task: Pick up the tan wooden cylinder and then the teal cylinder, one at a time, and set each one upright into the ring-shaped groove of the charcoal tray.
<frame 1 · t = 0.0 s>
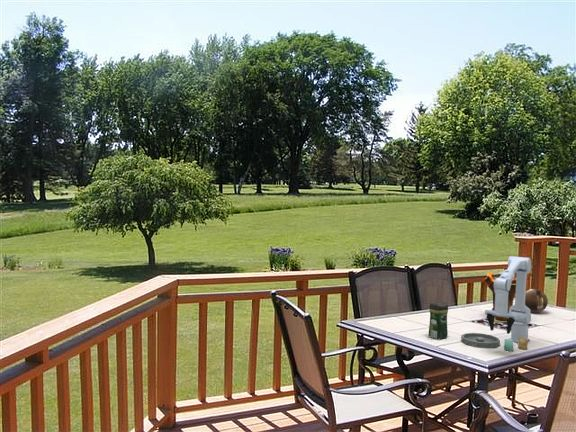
hand: (500, 331, 253), 10 cm above the table, tool pointing down, fingers open, 7 cm apart
wooden sphere: (534, 312, 340), on the table
coffee jar: (437, 337, 278), on the table
ring tray: (480, 342, 270), on the table
tan wooden cylinder: (522, 348, 261), on the table
decorative vase: (502, 320, 319), on the table
teal cylinder: (508, 350, 257), on the table
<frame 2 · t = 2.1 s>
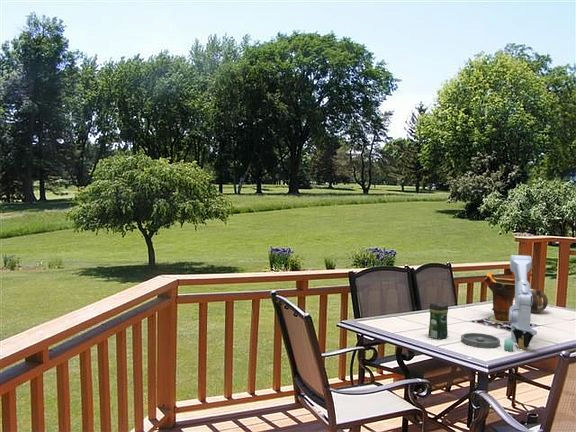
hand: (522, 345, 261), 1 cm above the table, tool pointing down, fingers closed on tan wooden cylinder, 4 cm apart
tan wooden cylinder: (522, 348, 261), on the table, touching gripper
everything else where it was.
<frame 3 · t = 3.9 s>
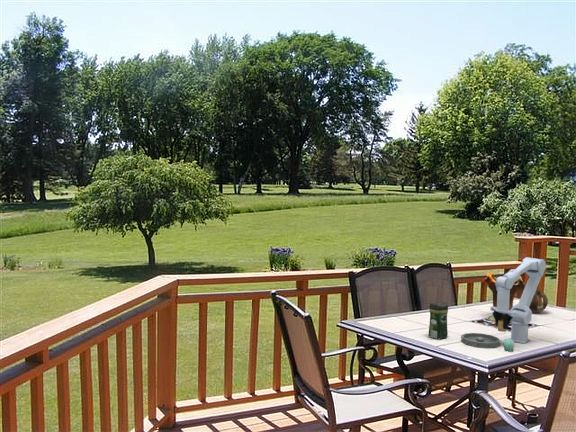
hand: (502, 327, 267), 8 cm above the table, tool pointing down, fingers closed on tan wooden cylinder, 4 cm apart
tan wooden cylinder: (501, 330, 267), point 7 cm above the table, touching gripper
everything else where it was.
when the fingers open (4 cm above the table, at t = 5.7 s): tan wooden cylinder drops 1 cm, resting on ring tray.
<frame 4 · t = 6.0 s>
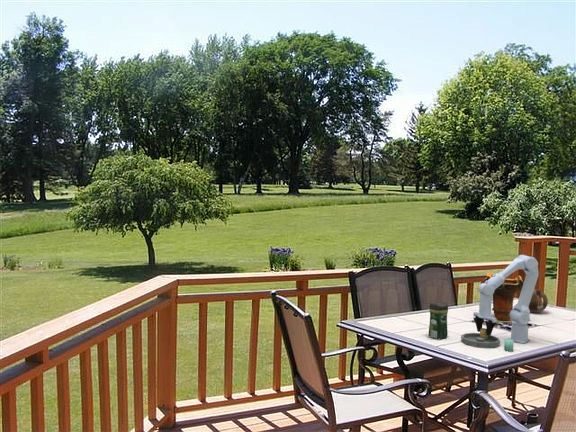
hand: (484, 333, 273), 4 cm above the table, tool pointing down, fingers open, 6 cm apart
tan wooden cylinder: (483, 338, 273), point 1 cm above the table, touching ring tray
everything else where it was.
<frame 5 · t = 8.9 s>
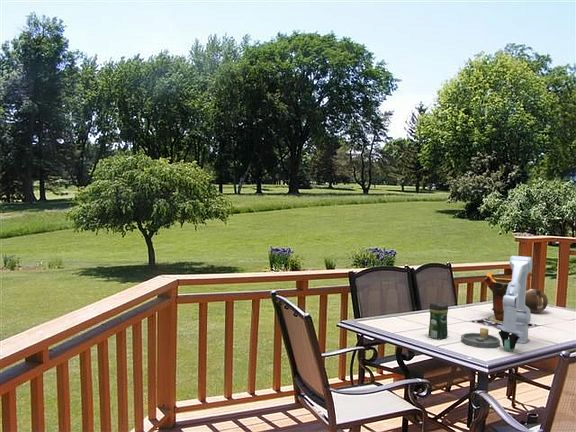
hand: (508, 347, 257), 1 cm above the table, tool pointing down, fingers closed on teal cylinder, 4 cm apart
teal cylinder: (508, 350, 257), on the table, touching gripper
everything else where it was.
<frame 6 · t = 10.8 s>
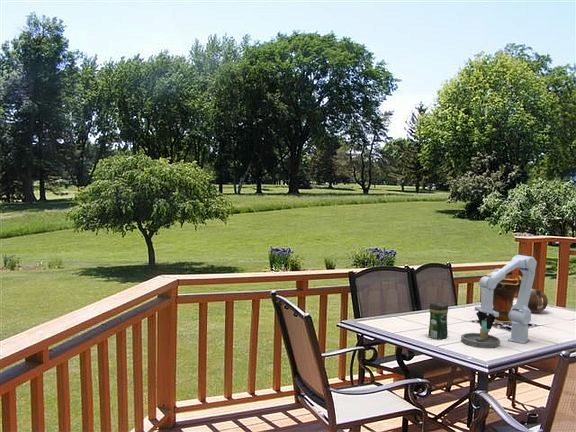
hand: (485, 327, 266), 8 cm above the table, tool pointing down, fingers closed on teal cylinder, 4 cm apart
teal cylinder: (485, 330, 266), point 7 cm above the table, touching gripper
everything else where it was.
when the fingers open (4 cm above the table, at t = 12.6 s): teal cylinder drops 1 cm, resting on ring tray.
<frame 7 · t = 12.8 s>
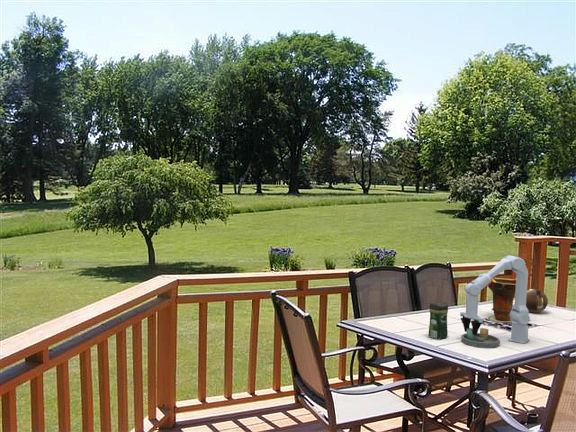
hand: (470, 333, 273), 4 cm above the table, tool pointing down, fingers open, 5 cm apart
teal cylinder: (470, 338, 273), point 1 cm above the table, touching ring tray
everything else where it was.
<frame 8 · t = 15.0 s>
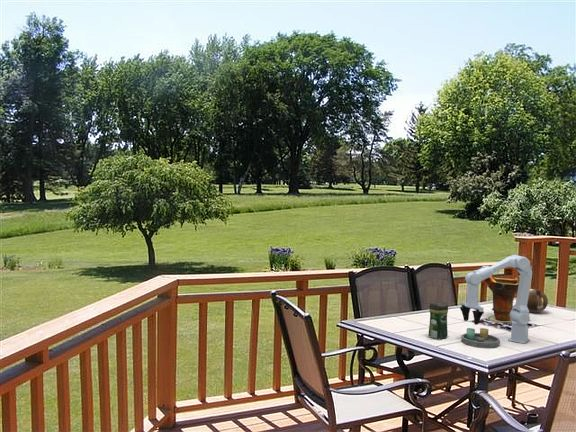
hand: (471, 322, 272), 9 cm above the table, tool pointing down, fingers open, 7 cm apart
nothing on the table moved.
at the end: tan wooden cylinder 0.0 cm from the target spot on the ring tray, point 1.0 cm above the ring tray's base; teal cylinder 0.0 cm from the target spot on the ring tray, point 1.0 cm above the ring tray's base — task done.
